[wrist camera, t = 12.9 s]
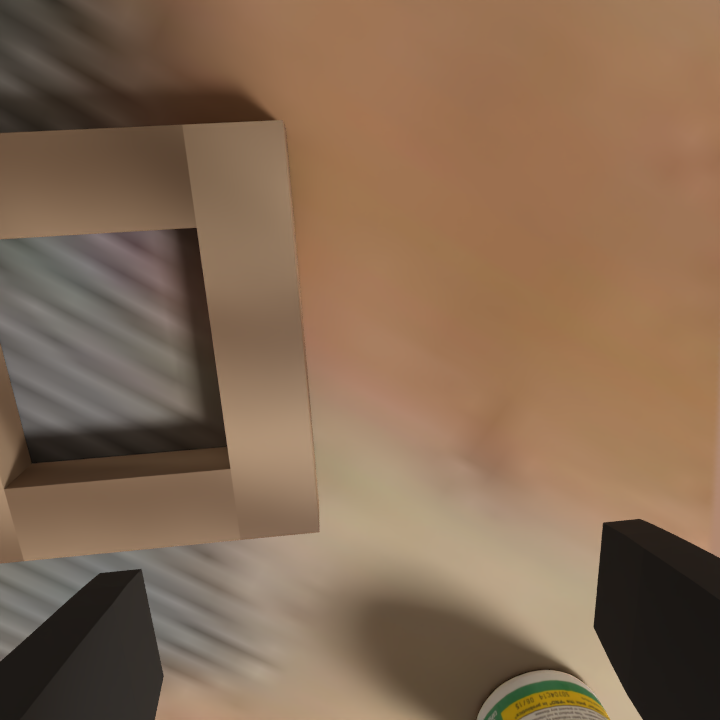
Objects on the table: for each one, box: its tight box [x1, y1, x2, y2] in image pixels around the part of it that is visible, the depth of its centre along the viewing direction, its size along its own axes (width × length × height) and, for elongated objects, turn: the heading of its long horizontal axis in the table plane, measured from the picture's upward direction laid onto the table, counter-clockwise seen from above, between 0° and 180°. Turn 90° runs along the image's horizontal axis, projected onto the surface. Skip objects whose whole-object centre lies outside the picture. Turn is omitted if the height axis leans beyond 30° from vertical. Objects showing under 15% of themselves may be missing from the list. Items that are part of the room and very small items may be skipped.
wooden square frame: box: [0, 120, 319, 563], centre depth 15 cm, size 12×12×2 cm
